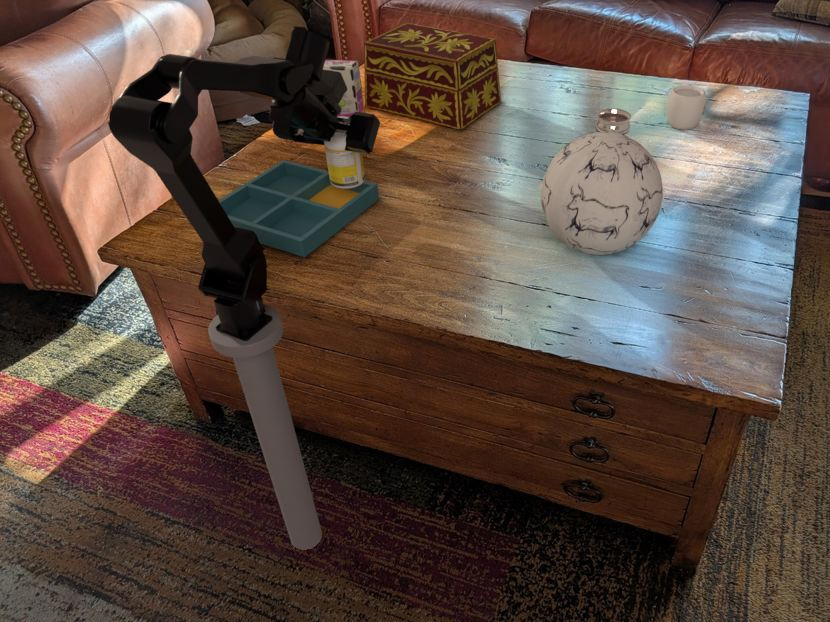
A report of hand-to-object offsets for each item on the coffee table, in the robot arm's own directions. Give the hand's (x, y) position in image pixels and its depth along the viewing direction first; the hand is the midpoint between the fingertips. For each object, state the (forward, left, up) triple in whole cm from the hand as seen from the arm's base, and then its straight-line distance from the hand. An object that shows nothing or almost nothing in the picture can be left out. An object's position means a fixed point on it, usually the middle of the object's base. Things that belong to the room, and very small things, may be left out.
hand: (347, 145), depth 131 cm
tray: (-7, +9, -12) cm, 17 cm away
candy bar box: (+24, +21, -12) cm, 34 cm away
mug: (+66, -45, -12) cm, 81 cm away
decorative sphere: (+8, -46, -12) cm, 48 cm away
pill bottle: (-1, 0, -7) cm, 7 cm away
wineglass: (+35, -38, -12) cm, 53 cm away
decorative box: (+49, +12, -12) cm, 52 cm away
